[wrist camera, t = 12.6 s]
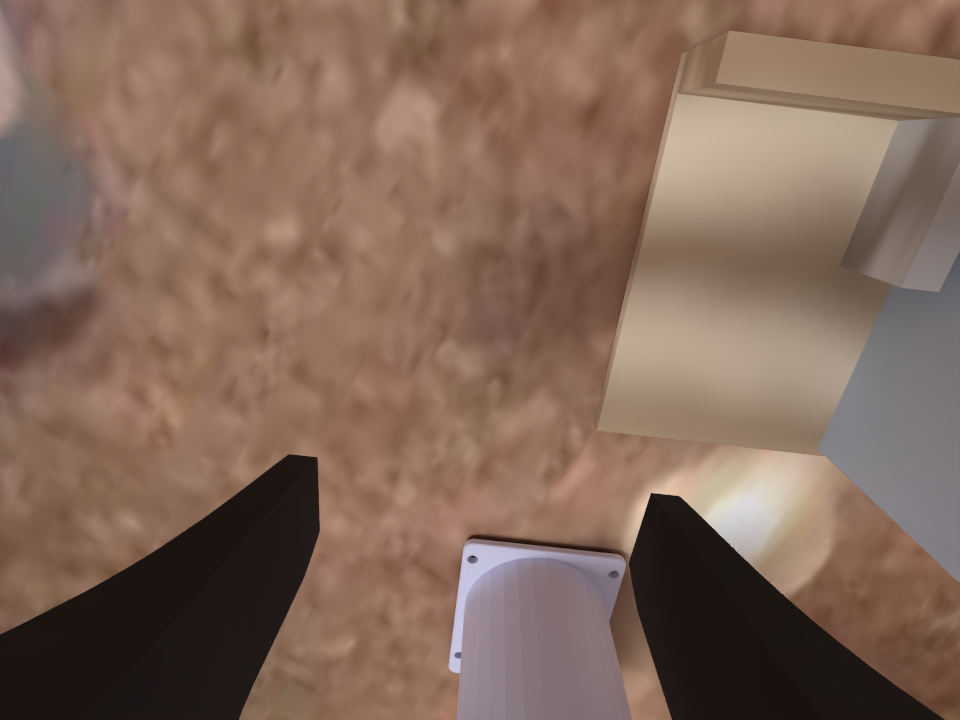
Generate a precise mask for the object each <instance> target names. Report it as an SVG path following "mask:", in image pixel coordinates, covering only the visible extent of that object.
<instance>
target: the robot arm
mask: <svg viewBox="0 0 960 720" xmlns="http://www.w3.org/2000/svg"><path fill="white" fill-rule="evenodd" d="M319 532H320V523H319V491H318V460H317V457H309V456H299V455H290V454H289V455H287V456H286V457H285V458H283V459H282V460H281V461H279V462H278V463H277V464H275V465H274V466H273V467H271V468H270V469H269V470H267V471H266V472H265V473H264V474H262V475H261V476H260V477H258V478H257V479H256V480H254V481H253V482H252V483H251V484H249V485H248V486H247V487H245V488H244V489H243V490H241V491H240V492H239V493H237V494H236V495H235V496H233V497H232V498H231V499H229V500H228V501H227V502H225V503H224V504H223V505H221V506H220V507H218V508H217V509H216V510H214V511H213V512H212V513H210V514H209V515H208V516H206V517H205V518H203V519H202V520H201V521H199V522H198V523H196V524H195V525H193V526H192V527H190V528H189V529H187V530H186V531H184V532H183V533H181V534H180V535H178V536H177V537H175V538H174V539H172V540H171V541H169V542H168V543H167V544H165V545H164V546H162V547H161V548H159V549H157V550H156V551H154V552H153V553H151V554H149V555H148V556H146V557H145V558H143V559H141V560H140V561H138V562H136V563H135V564H133V565H131V566H130V567H128V568H126V569H125V570H123V571H121V572H119V573H118V574H116V575H114V576H112V577H111V578H109V579H107V580H105V581H104V582H102V583H100V584H98V585H97V586H95V587H93V588H91V589H89V590H88V591H86V592H84V593H82V594H80V595H78V596H76V597H74V598H72V599H70V600H68V601H66V602H64V603H62V604H60V605H58V606H56V607H54V608H53V609H51V610H49V611H47V612H45V613H43V614H41V615H39V616H37V617H35V618H33V619H31V620H29V621H27V622H25V623H23V624H21V625H19V626H17V627H15V628H13V629H11V630H9V631H7V632H5V633H3V634H0V720H239V717H240V715H241V712H242V709H243V707H244V705H245V703H246V700H247V698H248V696H249V693H250V691H251V689H252V686H253V684H254V682H255V680H256V678H257V676H258V673H259V671H260V669H261V667H262V665H263V663H264V661H265V659H266V657H267V655H268V652H269V650H270V648H271V646H272V644H273V642H274V640H275V638H276V636H277V634H278V632H279V629H280V627H281V625H282V623H283V621H284V619H285V617H286V615H287V613H288V611H289V608H290V606H291V604H292V602H293V600H294V598H295V596H296V594H297V591H298V589H299V587H300V585H301V583H302V581H303V578H304V576H305V573H306V571H307V568H308V565H309V562H310V559H311V556H312V553H313V550H314V547H315V544H316V541H317V538H318V535H319ZM470 556H476V557H473V558H472V557H470ZM629 567H630V573H631V579H632V584H633V590H634V595H635V600H636V605H637V610H638V613H639V617H640V620H641V623H642V626H643V630H644V633H645V636H646V639H647V643H648V646H649V649H650V652H651V655H652V658H653V661H654V665H655V668H656V671H657V674H658V677H659V680H660V683H661V686H662V690H663V693H664V696H665V699H666V702H667V705H668V708H669V711H670V714H671V718H672V720H944V719H943V718H941V717H940V716H939V715H937V714H936V713H934V712H933V711H931V710H930V709H929V708H927V707H926V706H924V705H923V704H921V703H920V702H919V701H917V700H916V699H914V698H913V697H911V696H910V695H909V694H907V693H906V692H904V691H903V690H901V689H900V688H899V687H897V686H896V685H894V684H893V683H892V682H890V681H889V680H888V679H886V678H885V677H884V676H882V675H881V674H879V673H878V672H877V671H875V670H874V669H873V668H871V667H870V666H869V665H868V664H866V663H865V662H864V661H862V660H861V659H860V658H859V657H857V656H856V655H855V654H853V653H852V652H851V651H850V650H848V649H847V648H846V647H845V646H843V645H842V644H841V643H839V642H838V641H837V640H836V639H834V638H833V637H832V636H831V635H829V634H828V633H827V632H826V631H824V630H823V629H822V628H821V627H820V626H818V625H817V624H816V623H815V622H814V621H812V620H811V619H810V618H809V617H808V616H807V615H805V614H804V613H803V612H802V611H801V610H800V609H799V608H797V607H796V606H795V605H794V604H793V603H792V602H791V601H789V600H788V599H787V598H786V597H785V596H784V595H783V594H781V593H780V592H779V591H778V590H777V589H776V588H775V587H774V586H773V585H772V584H770V583H769V582H768V581H767V580H766V579H765V578H764V577H763V576H762V575H761V574H760V573H759V572H757V571H756V570H755V569H754V568H753V567H752V566H751V565H750V564H749V563H748V562H747V561H746V560H745V559H744V558H743V557H742V556H741V555H740V554H739V553H738V552H737V551H735V550H734V549H733V548H732V547H731V546H730V545H729V544H728V543H727V542H726V541H725V540H724V539H723V538H722V537H721V536H720V535H719V534H718V533H717V532H716V531H715V530H714V529H713V528H712V527H711V526H710V525H709V524H708V523H707V522H706V521H705V520H704V519H703V518H702V517H701V516H700V515H699V514H698V513H697V512H696V511H695V510H694V509H693V508H692V507H690V506H689V505H688V504H687V503H686V502H685V501H684V500H683V499H682V498H681V497H679V496H673V495H664V494H654V493H651V495H650V498H649V501H648V505H647V508H646V511H645V514H644V517H643V520H642V523H641V527H640V530H639V533H638V536H637V539H636V542H635V545H634V548H633V552H632V555H631V558H630V561H629ZM625 569H626V563H625V560H624V558H623V557H622V556H621V555H618V554H611V553H602V552H593V551H584V550H574V549H565V548H556V547H546V546H537V545H528V544H519V543H509V542H500V541H491V540H481V539H470V540H467V541H466V542H465V544H464V548H463V556H462V564H461V572H460V580H459V587H458V595H457V603H456V611H455V619H454V626H453V634H452V642H451V650H450V658H449V669H450V670H451V671H453V672H455V673H460V679H459V693H458V708H457V720H632V717H631V713H630V709H629V704H628V700H627V696H626V692H625V687H624V683H623V679H622V675H621V670H620V666H619V662H618V658H617V654H616V649H615V645H614V641H613V637H612V632H611V628H610V624H609V621H610V618H611V615H612V611H613V608H614V605H615V602H616V598H617V595H618V592H619V589H620V585H621V582H622V579H623V576H624V572H625ZM611 571H615V572H611Z"/></svg>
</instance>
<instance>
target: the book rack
mask: <svg viewBox="0 0 960 720" xmlns="http://www.w3.org/2000/svg"><path fill="white" fill-rule="evenodd" d="M959 251H960V60H959V59H951V58H943V57H935V56H927V55H919V54H912V53H904V52H896V51H888V50H880V49H872V48H864V47H856V46H848V45H840V44H832V43H824V42H817V41H809V40H801V39H793V38H785V37H777V36H769V35H761V34H753V33H745V32H737V31H727V32H725V33H723V34H721V35H719V36H717V37H715V38H713V39H711V40H709V41H707V42H705V43H702V44H700V45H698V46H696V47H694V48H692V49H690V50H688V51H686V52H684V53H682V54H681V58H680V63H679V67H678V71H677V75H676V80H675V84H674V88H673V92H672V97H671V101H670V105H669V109H668V113H667V118H666V122H665V126H664V130H663V135H662V139H661V143H660V147H659V152H658V156H657V160H656V164H655V169H654V173H653V177H652V181H651V185H650V190H649V194H648V198H647V202H646V207H645V211H644V215H643V219H642V224H641V228H640V232H639V236H638V241H637V245H636V249H635V253H634V257H633V262H632V266H631V270H630V274H629V279H628V283H627V287H626V291H625V296H624V300H623V304H622V308H621V313H620V317H619V321H618V325H617V329H616V334H615V338H614V342H613V346H612V351H611V355H610V359H609V363H608V368H607V372H606V376H605V380H604V385H603V389H602V393H601V397H600V401H599V406H598V410H597V414H596V418H595V423H594V424H595V427H596V430H597V431H605V432H614V433H623V434H632V435H641V436H650V437H658V438H667V439H676V440H685V441H694V442H703V443H712V444H721V445H730V446H739V447H748V448H757V449H766V450H775V451H784V452H793V453H802V454H810V455H819V456H825V455H824V454H823V453H822V452H821V451H820V450H819V449H818V447H819V445H820V442H821V440H822V438H823V436H824V434H825V431H826V429H827V427H828V425H829V423H830V421H831V418H832V416H833V414H834V412H835V410H836V407H837V405H838V403H839V401H840V399H841V396H842V394H843V392H844V390H845V388H846V386H847V383H848V381H849V379H850V377H851V375H852V372H853V370H854V368H855V366H856V364H857V361H858V359H859V357H860V355H861V353H862V351H863V348H864V346H865V344H866V342H867V340H868V337H869V335H870V333H871V331H872V329H873V326H874V324H875V322H876V320H877V318H878V315H879V313H880V311H881V309H882V307H883V305H884V302H885V300H886V298H887V296H888V294H889V291H890V289H891V287H892V285H895V286H898V287H901V288H908V289H916V290H925V291H933V292H939V291H940V289H941V287H942V285H943V283H944V281H945V279H946V277H947V275H948V273H949V271H950V269H951V267H952V265H953V263H954V261H955V259H956V257H957V255H958V253H959Z"/></svg>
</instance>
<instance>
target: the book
mask: <svg viewBox="0 0 960 720" xmlns="http://www.w3.org/2000/svg"><path fill="white" fill-rule="evenodd" d="M818 449H819V450H820V451H821V452H822V453H823V454H824V455H825V456H826V457H827V458H828V459H829V460H830V461H831V462H832V463H833V464H834V465H835V466H836V467H838V468H839V469H840V470H841V471H842V472H843V473H844V474H845V475H846V476H847V477H848V478H849V479H850V480H851V481H852V482H853V483H854V484H855V485H856V486H858V487H859V488H860V489H861V490H862V491H863V492H864V493H865V494H866V495H867V496H868V497H869V498H870V499H871V500H872V501H873V502H874V503H875V504H877V505H878V506H879V507H880V508H881V509H882V510H883V511H884V512H885V513H886V514H887V515H888V516H889V517H890V518H891V519H892V520H893V521H894V522H895V523H897V524H898V525H899V526H900V527H901V528H902V529H903V530H904V531H905V532H906V533H907V534H908V535H909V536H910V537H911V538H912V539H913V540H914V541H915V542H917V543H918V544H919V545H920V546H921V547H922V548H923V549H924V550H925V551H926V552H927V553H928V554H929V555H930V556H931V557H932V558H933V559H934V560H936V561H937V562H938V563H939V564H940V565H941V566H942V567H943V568H944V569H945V570H946V571H947V572H948V573H949V574H950V575H951V576H952V577H953V578H954V579H956V580H957V581H958V582H959V583H960V251H959V253H958V255H957V257H956V259H955V261H954V263H953V265H952V267H951V269H950V271H949V273H948V275H947V277H946V279H945V281H944V283H943V285H942V287H941V289H940V291H939V292H933V291H925V290H916V289H908V288H901V287H898V286H895V285H892V287H891V289H890V291H889V294H888V296H887V298H886V300H885V302H884V305H883V307H882V309H881V311H880V313H879V315H878V318H877V320H876V322H875V324H874V326H873V329H872V331H871V333H870V335H869V337H868V340H867V342H866V344H865V346H864V348H863V351H862V353H861V355H860V357H859V359H858V361H857V364H856V366H855V368H854V370H853V372H852V375H851V377H850V379H849V381H848V383H847V386H846V388H845V390H844V392H843V394H842V396H841V399H840V401H839V403H838V405H837V407H836V410H835V412H834V414H833V416H832V418H831V421H830V423H829V425H828V427H827V429H826V431H825V434H824V436H823V438H822V440H821V442H820V445H819V447H818Z"/></svg>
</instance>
